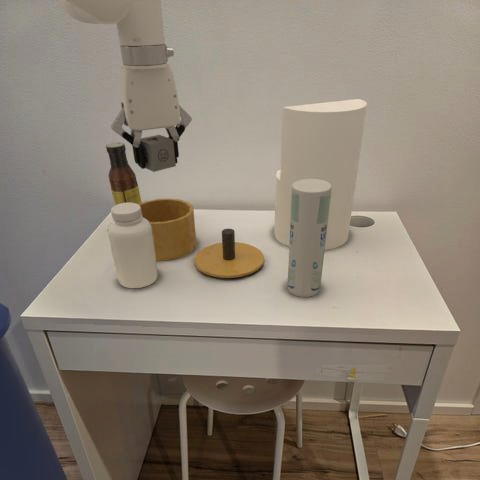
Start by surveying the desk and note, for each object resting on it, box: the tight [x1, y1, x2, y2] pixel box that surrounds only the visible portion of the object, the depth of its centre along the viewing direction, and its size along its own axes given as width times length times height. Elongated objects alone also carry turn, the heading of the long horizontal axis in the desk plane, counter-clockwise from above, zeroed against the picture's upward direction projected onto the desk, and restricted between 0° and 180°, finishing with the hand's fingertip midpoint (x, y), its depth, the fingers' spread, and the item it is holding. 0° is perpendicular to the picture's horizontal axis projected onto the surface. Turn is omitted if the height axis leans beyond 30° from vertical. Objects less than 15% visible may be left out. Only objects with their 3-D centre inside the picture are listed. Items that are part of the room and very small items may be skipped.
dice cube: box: [140, 134, 177, 173], centre depth 84 cm, size 5×5×5 cm
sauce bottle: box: [105, 141, 143, 206], centre depth 101 cm, size 7×6×20 cm
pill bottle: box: [107, 203, 159, 289], centre depth 83 cm, size 8×8×15 cm
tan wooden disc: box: [193, 228, 265, 279], centre depth 90 cm, size 15×15×7 cm
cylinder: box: [273, 98, 368, 251], centre depth 94 cm, size 17×17×28 cm
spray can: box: [287, 179, 332, 298], centre depth 77 cm, size 6×6×20 cm
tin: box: [138, 198, 197, 261], centre depth 96 cm, size 14×14×8 cm
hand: (157, 163), depth 85 cm, fingers closed on dice cube, 5 cm apart
